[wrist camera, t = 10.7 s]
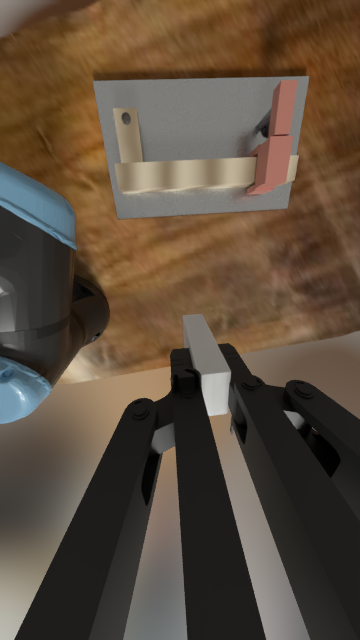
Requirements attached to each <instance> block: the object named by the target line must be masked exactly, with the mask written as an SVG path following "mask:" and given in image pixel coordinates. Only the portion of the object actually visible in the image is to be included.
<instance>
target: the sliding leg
mask: <svg viewBox="0 0 360 640" xmlns="http://www.w3.org/2000/svg"><path fill="white" fill-rule="evenodd" d="M297 82H298V80H281V81H280V83H279V84H278V85H277V86H276V88H275V89H274V90H273V99H272V108H271V109H270V110H269V111H268V112H267V114H266V115H265V116H264V117H263V118H262V120H261V121H260V122H259V125H258V126H259V128H260V129H262V128H263V127H264V126H265V125H266V124H267V123H268V122H269V121H270V126H269V135H268V139H267V140H266V141H265V142H264V143H263V144H259V145H258V146H257V147H256V148H255V149H254V150H253V151H252V152H251V153H250V157H257V167H256V177H255V185H253V186H252V187H250V188H248V189H247V195H252V194H265V193H267V192H269V191H272V190H274V187H276V186H278V185H280V184H283V183H285V182H286V180H287V173H288V167H289V160H290V154H291V147H292V141H293V136H287V135H289V134H290V129H291V123H292V116H293V109H294V102H295V96H296V89H297Z"/></svg>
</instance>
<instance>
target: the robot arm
mask: <svg viewBox="0 0 360 640" xmlns="http://www.w3.org/2000/svg"><path fill="white" fill-rule="evenodd" d="M75 240H76V216H75V213H74V210H73V208H72V206H71V205H70V204H69V202H68V201H67V200H66V199H65V198H64V197H62V196H61V195H60V194H58V193H57V192H55V191H54V190H52V189H50V188H48V187H47V186H45V185H43V184H42V183H40V182H38V181H36V180H34V179H32V178H30V177H28V176H27V175H25V174H23V173H21V172H19V171H17V170H15V169H13V168H11V167H9V166H7V165H5V164H3V163H1V162H0V424H3V423H9V422H13V421H15V420H18V419H20V418H23V417H26V416H27V415H29V414H30V413H31V412H32V411H34V410H35V408H37V406H38V405H39V404H40V403H41V402H42V401H43V400H44V399H45V398H46V397H47V396H48V395H49V394H50V392H51V389H52V388H53V386H54V385H55V384H56V382H57V381H58V379H59V378H60V377H61V375H62V374H63V372H64V371H65V370H66V368H67V367H68V365H69V364H70V363H71V361H72V360H73V358H74V357H75V356H76V354H77V353H78V351H79V350H80V349H81V348H82V347H84V346H86V345H88V344H90V343H92V342H93V341H95V340H96V339H98V338H99V337H100V336H101V334H102V333H103V332H104V330H105V329H106V327H107V325H108V322H109V317H110V312H109V306H108V303H107V301H106V299H105V297H104V296H103V294H102V293H101V292H100V290H99V289H98V288H97V287H95V286H94V285H93V284H92V283H90V282H89V281H87V280H85V279H83V278H81V277H78V276H75V275H74V265H75V252H76V250H77V245H76V242H75ZM183 330H184V346H185V348H182V349H173V350H172V352H171V354H170V361H171V391H170V392H169V394H168V395H166V396H165V397H164V398H162V399H160V400H158V401H155V402H153V401H152V400H151V399H147V398H140V399H137V400H135V401H133V402H132V403H130V404H129V405H128V406H127V408H126V409H125V411H124V413H123V415H122V417H121V419H120V421H119V423H118V425H117V427H116V429H115V432H114V434H113V436H112V438H111V440H110V442H109V444H108V446H107V448H106V450H105V452H104V454H103V457H102V458H101V461H100V463H99V465H98V467H97V469H96V471H95V473H94V475H93V477H92V479H91V481H90V483H89V486H88V488H87V490H86V492H85V494H84V496H83V498H82V500H81V502H80V504H79V506H78V508H77V510H76V513H75V515H74V517H73V519H72V521H71V523H70V525H69V527H68V529H67V531H66V533H65V535H64V538H63V539H62V542H61V544H60V546H59V548H58V550H57V552H56V554H55V556H54V558H53V560H52V562H51V564H50V567H49V569H48V571H47V573H46V575H45V577H44V579H43V581H42V583H41V585H40V587H39V590H38V591H37V593H36V596H35V598H34V600H33V602H32V604H31V606H30V608H29V610H28V612H27V614H26V617H25V618H24V620H23V623H22V625H21V627H20V629H19V631H18V633H17V635H16V637H15V639H14V640H123V637H124V632H125V628H126V623H127V618H128V614H129V609H130V604H131V599H132V595H133V590H134V586H135V580H136V576H137V571H138V567H139V562H140V558H141V553H142V548H143V543H144V539H145V534H146V530H147V525H148V520H149V516H150V511H151V506H152V502H153V497H154V492H155V488H156V482H157V478H158V473H159V469H160V464H161V459H162V454H163V452H164V451H166V450H168V449H170V448H172V447H174V446H175V447H176V463H177V479H178V494H179V510H180V526H181V542H182V557H183V574H184V590H185V605H186V620H187V637H188V640H266V637H265V633H264V629H263V626H262V622H261V618H260V614H259V610H258V606H257V603H256V598H255V595H254V591H253V587H252V583H251V579H250V575H249V572H248V567H247V564H246V560H245V556H244V552H243V548H242V544H241V540H240V537H239V532H238V529H237V525H236V521H235V517H234V514H233V509H232V505H231V501H230V498H229V494H228V490H227V486H226V482H225V478H224V474H223V470H222V467H221V463H220V459H219V455H218V451H217V447H216V443H215V439H214V436H213V432H212V428H211V424H210V420H209V416H213V415H220V414H228V407H229V409H230V411H231V414H232V417H231V428H230V431H231V435H232V434H233V431H235V434H236V437H237V439H238V442H239V445H240V448H241V450H242V453H243V456H244V459H245V461H246V464H247V467H248V469H249V472H250V475H251V478H252V481H253V483H254V486H255V489H256V492H257V494H258V497H259V500H260V502H261V505H262V508H263V511H264V514H265V516H266V519H267V522H268V524H269V527H270V530H271V533H272V535H273V538H274V541H275V544H276V546H277V549H278V552H279V554H280V557H281V560H282V563H283V565H284V568H285V571H286V574H287V576H288V579H289V582H290V585H291V587H292V590H293V593H294V596H295V598H296V601H297V604H298V607H299V609H300V612H301V615H302V618H303V620H304V623H305V626H306V629H307V631H308V634H309V637H310V639H311V640H360V419H358V418H357V417H356V416H354V415H353V414H351V413H350V412H349V411H347V410H346V409H345V408H343V407H342V406H341V405H339V404H338V403H336V402H335V401H334V400H332V399H331V398H330V397H328V396H327V395H325V394H324V393H323V392H321V391H320V390H319V389H317V388H316V387H314V386H313V385H311V384H309V383H307V382H304V381H300V380H291V381H289V382H287V383H286V386H285V388H284V387H277V386H270V385H266V384H265V383H264V382H263V381H262V380H261V379H260V378H258V377H256V376H254V375H252V374H251V372H250V371H249V369H248V368H247V366H246V365H245V363H244V362H243V360H242V359H241V357H240V355H239V354H238V352H237V351H236V349H235V348H234V347H233V346H232V345H230V344H229V343H226V344H217V343H216V341H215V339H214V337H213V335H212V333H211V331H210V329H209V327H208V325H207V323H206V321H205V319H204V317H203V315H202V314H194V315H183ZM312 427H313V428H314V429H315V430H316V431H317V432H316V431H315V430H313V429H312Z"/></svg>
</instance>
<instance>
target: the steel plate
mask: <svg viewBox="0 0 360 640" xmlns="http://www.w3.org/2000/svg"><path fill="white" fill-rule="evenodd" d="M281 80H298V82H297V89H296V96H295V102H294V109H293V116H292V123H291V129H290V134H289V135H287V136H293V141H292V147H291V154H290V155H296V153H297V147H298V141H299V135H300V129H301V123H302V117H303V111H304V105H305V99H306V93H307V87H308V81H309V76H295V77H249V78H204V79H158V80H113V81H93V85H94V91H95V96H96V102H97V107H98V113H99V118H100V124H101V129H102V135H103V140H104V146H105V151H106V156H107V162H108V167H109V173H110V178H111V184H112V189H113V195H114V200H115V206H116V211H117V217H118V219H134V218H150V217H166V216H182V215H198V214H214V213H230V212H246V211H263V210H279V209H287V208H288V202H289V196H290V190H291V184H292V181H291V182H289V183H286V184H284V185H278V186H276V187H274V190H272V191H269V192H267V193H265V194H252V195H247V189H248V188H250V187H237V188H219V189H200V190H182V191H164V192H146V193H128V194H123V193H122V192H121V191H120V190H119V188H118V182H117V177H116V171H115V165H114V164H115V163H121V157H120V151H119V144H118V138H117V132H116V125H115V119H114V112H113V108H137V112H138V118H139V126H140V135H141V144H142V152H143V161H144V162H158V161H180V160H202V159H223V158H245V157H250V153H251V152H252V151H253V150H254V149H255V148H256V147H257V146H258V145H259V144H263V143H264V142H265V141H266V140H267V139H268V135H269V126H270V121H269V122H268V123H267V124H266V125H265V126H264V127H263V128H262V129H260V128H259V126H258V125H259V122H260V121H261V120H262V118H263V117H264V116H265V115H266V114H267V112H268V111H269V110H270V109H271V108H272V99H273V90H274V89H275V88H276V86H277V85H278V84H279V83H280V81H281Z"/></svg>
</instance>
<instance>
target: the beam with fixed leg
mask: <svg viewBox="0 0 360 640" xmlns="http://www.w3.org/2000/svg"><path fill="white" fill-rule="evenodd" d="M113 112H114V119H115V125H116V132H117V138H118V144H119V151H120V157H121V163H115V164H114V165H115V171H116V177H117V182H118V188H119V190H120V191H121V192H122V193H123V194H128V193H146V192H164V191H182V190H200V189H219V188H237V187H252V186H253V185H255V177H256V167H257V157H245V158H223V159H202V160H180V161H158V162H144V161H143V152H142V144H141V135H140V126H139V118H138V112H137V108H113ZM298 157H299V155H290V160H289V167H288V173H287V180H286V182H285V183H283V184H280V185H284V184H286V183H289V182H291V181H293V180H295V174H296V168H297V163H298Z"/></svg>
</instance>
